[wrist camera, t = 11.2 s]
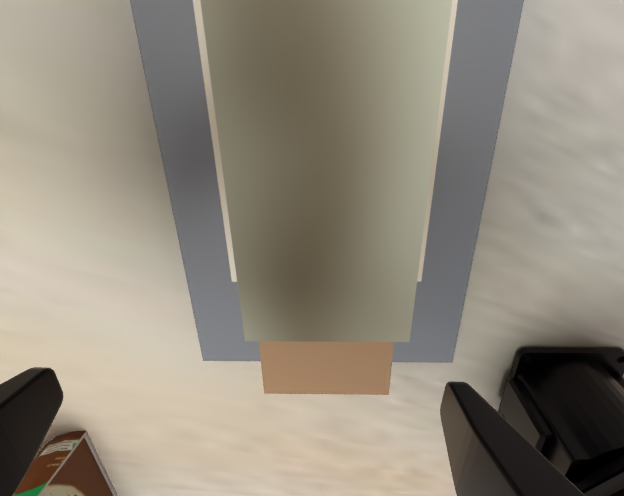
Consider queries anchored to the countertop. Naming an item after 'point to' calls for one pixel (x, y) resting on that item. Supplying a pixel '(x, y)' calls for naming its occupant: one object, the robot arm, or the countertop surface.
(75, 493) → the food container
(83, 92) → the countertop surface
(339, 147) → the sage block
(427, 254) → the board
